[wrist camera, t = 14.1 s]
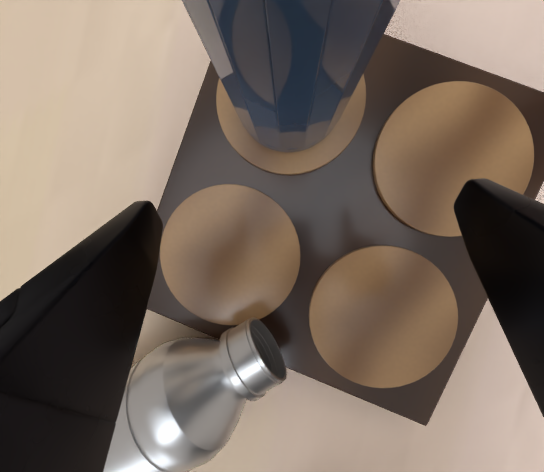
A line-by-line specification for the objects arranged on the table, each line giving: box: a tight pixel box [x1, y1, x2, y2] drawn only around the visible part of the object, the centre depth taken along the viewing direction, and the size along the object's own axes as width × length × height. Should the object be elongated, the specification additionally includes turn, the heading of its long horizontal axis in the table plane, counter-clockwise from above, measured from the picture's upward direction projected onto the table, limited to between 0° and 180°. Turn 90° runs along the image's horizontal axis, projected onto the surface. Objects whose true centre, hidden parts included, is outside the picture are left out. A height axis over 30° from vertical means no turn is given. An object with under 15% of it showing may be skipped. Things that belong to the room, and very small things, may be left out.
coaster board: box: [147, 34, 544, 426], centre depth 16 cm, size 20×20×2 cm
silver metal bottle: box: [103, 317, 286, 472], centre depth 15 cm, size 6×7×20 cm
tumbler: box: [182, 0, 400, 152], centre depth 9 cm, size 6×6×12 cm
